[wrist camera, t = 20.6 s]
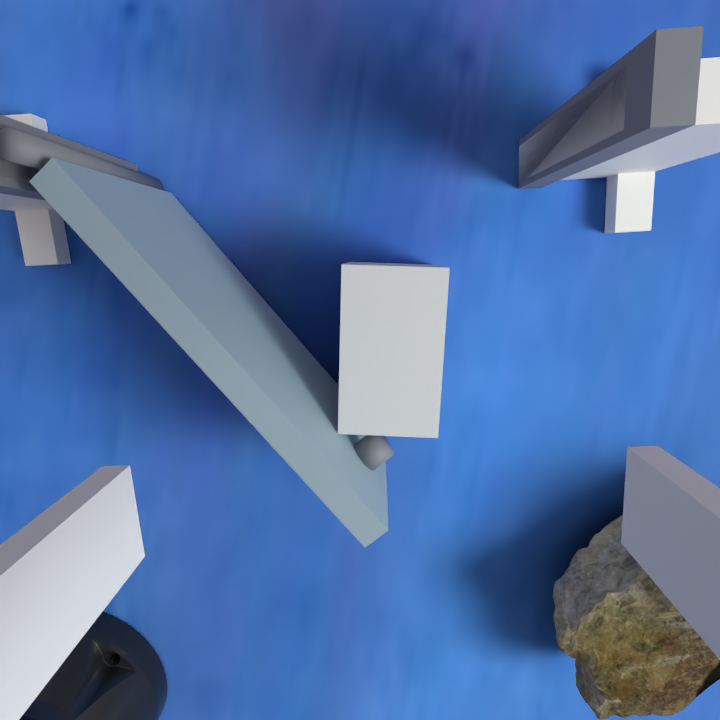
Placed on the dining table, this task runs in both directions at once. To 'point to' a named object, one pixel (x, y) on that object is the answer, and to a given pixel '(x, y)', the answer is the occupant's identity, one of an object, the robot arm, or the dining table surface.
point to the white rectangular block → (391, 348)
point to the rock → (627, 634)
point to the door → (215, 322)
